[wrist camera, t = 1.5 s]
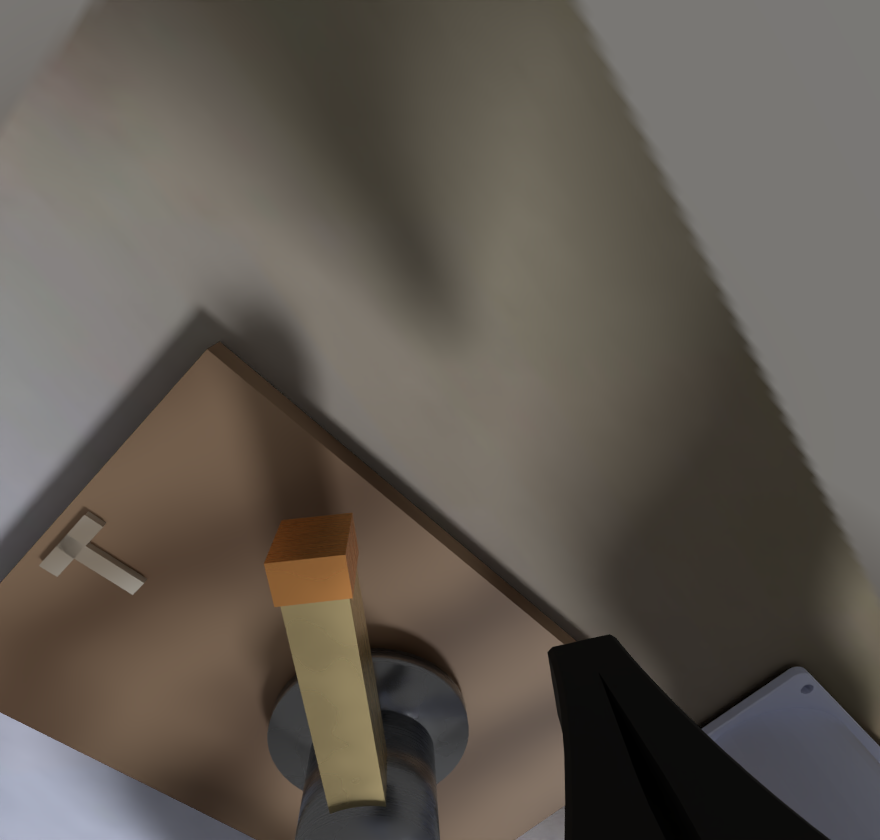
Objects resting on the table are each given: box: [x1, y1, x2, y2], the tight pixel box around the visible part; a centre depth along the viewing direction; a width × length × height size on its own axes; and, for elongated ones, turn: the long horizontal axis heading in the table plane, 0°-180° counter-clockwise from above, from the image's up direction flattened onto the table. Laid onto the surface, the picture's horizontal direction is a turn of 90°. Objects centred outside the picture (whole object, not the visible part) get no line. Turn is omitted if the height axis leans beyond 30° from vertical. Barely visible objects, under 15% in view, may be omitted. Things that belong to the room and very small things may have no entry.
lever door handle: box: [264, 513, 469, 840], centre depth 15 cm, size 13×7×4 cm, turn 5°
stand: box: [0, 342, 577, 840], centre depth 19 cm, size 22×15×1 cm
